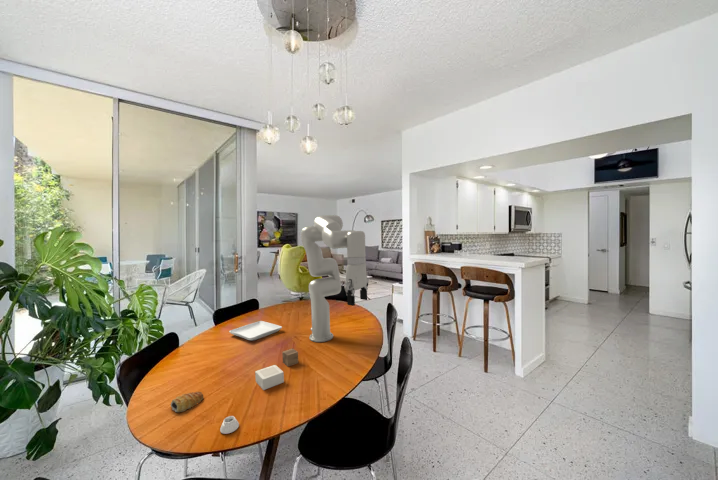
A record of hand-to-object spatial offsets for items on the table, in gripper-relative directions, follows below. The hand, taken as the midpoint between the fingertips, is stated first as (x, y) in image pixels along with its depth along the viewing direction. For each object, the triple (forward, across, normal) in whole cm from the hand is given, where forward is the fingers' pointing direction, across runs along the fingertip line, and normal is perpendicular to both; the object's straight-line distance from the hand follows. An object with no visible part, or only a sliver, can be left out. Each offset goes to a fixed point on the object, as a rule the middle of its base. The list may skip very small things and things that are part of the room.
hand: (357, 302), depth 118 cm
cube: (+28, +11, -29) cm, 41 cm away
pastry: (+28, +50, -38) cm, 69 cm away
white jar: (+28, +50, -15) cm, 59 cm away
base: (+28, +26, -25) cm, 45 cm away
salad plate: (+28, -5, -72) cm, 78 cm away
